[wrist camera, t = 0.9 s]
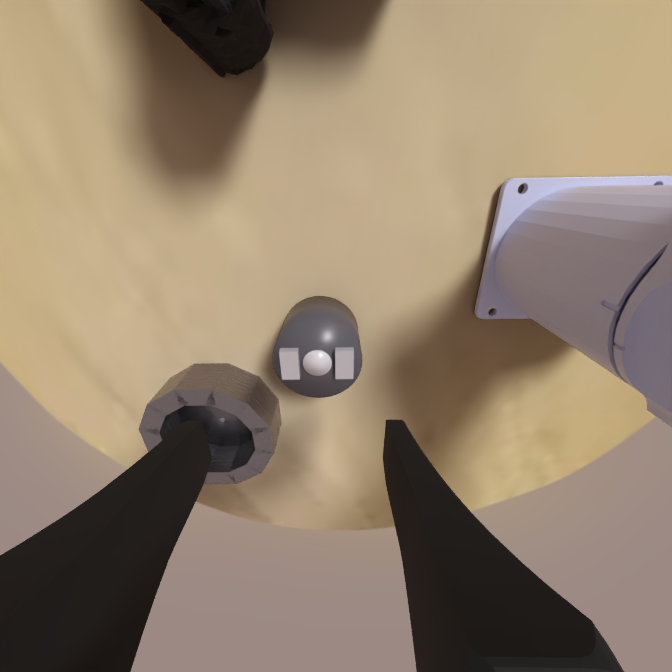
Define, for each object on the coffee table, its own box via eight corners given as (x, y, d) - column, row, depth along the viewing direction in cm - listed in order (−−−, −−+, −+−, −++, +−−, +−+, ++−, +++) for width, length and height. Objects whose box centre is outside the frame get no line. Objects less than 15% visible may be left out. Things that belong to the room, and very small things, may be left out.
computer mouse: (358, 295, 19) (364, 323, 15) (356, 361, 21) (361, 401, 17) (280, 296, 19) (266, 324, 15) (287, 362, 21) (276, 402, 17)
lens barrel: (273, 363, 21) (264, 388, 18) (285, 451, 25) (278, 483, 22) (149, 364, 21) (121, 390, 18) (181, 452, 25) (162, 484, 22)
